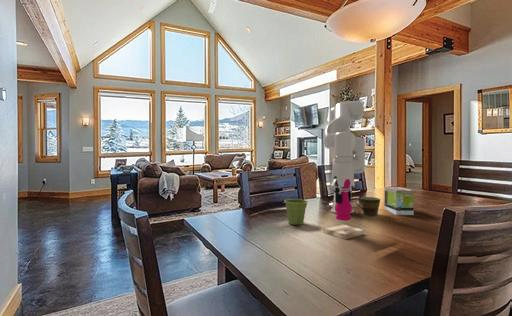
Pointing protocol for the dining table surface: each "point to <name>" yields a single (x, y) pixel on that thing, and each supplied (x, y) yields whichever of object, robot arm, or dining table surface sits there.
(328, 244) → the dining table surface
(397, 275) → the dining table surface
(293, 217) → the plant pot
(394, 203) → the tea box
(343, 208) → the pepper mill
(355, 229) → the maple base
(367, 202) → the ceramic cup
